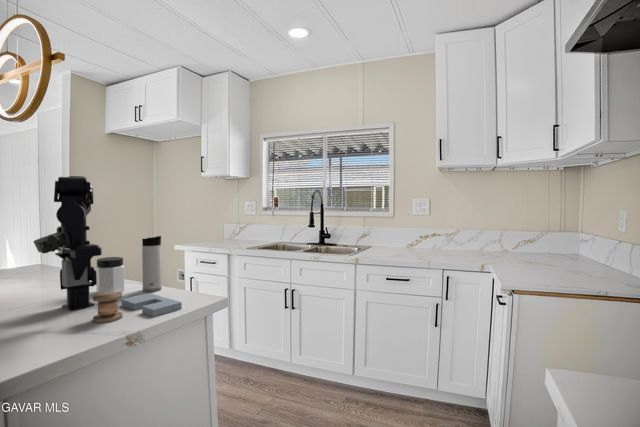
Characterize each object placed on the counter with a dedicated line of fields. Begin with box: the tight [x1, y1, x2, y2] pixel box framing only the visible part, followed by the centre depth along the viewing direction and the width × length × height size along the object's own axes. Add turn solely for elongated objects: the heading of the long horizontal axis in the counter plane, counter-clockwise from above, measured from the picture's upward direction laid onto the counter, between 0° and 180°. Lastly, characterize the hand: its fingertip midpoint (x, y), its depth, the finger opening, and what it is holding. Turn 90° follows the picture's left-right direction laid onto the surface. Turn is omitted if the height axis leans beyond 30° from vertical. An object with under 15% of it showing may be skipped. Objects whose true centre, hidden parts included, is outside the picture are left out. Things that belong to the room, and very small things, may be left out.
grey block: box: [61, 258, 88, 287], centre depth 95 cm, size 3×5×8 cm, turn 146°
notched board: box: [120, 292, 183, 318], centre depth 106 cm, size 18×9×2 cm, turn 56°
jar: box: [95, 256, 125, 294], centre depth 124 cm, size 9×8×12 cm
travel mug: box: [141, 235, 163, 293], centre depth 126 cm, size 6×7×20 cm
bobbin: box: [92, 292, 123, 324], centre depth 96 cm, size 7×7×7 cm
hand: (74, 278), depth 95 cm, fingers closed on grey block, 3 cm apart
